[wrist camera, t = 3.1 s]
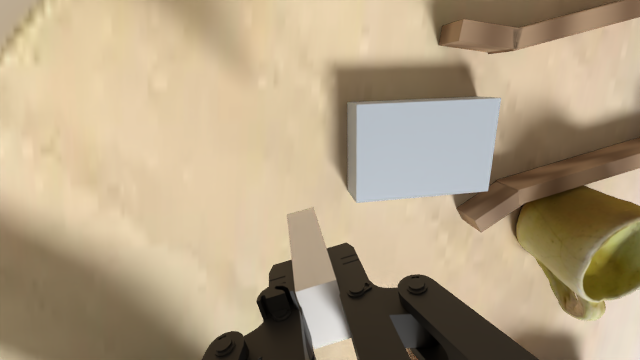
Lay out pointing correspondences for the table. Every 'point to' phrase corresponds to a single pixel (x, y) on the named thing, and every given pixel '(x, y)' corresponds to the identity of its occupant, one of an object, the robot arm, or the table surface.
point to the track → (559, 174)
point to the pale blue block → (420, 147)
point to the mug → (584, 247)
